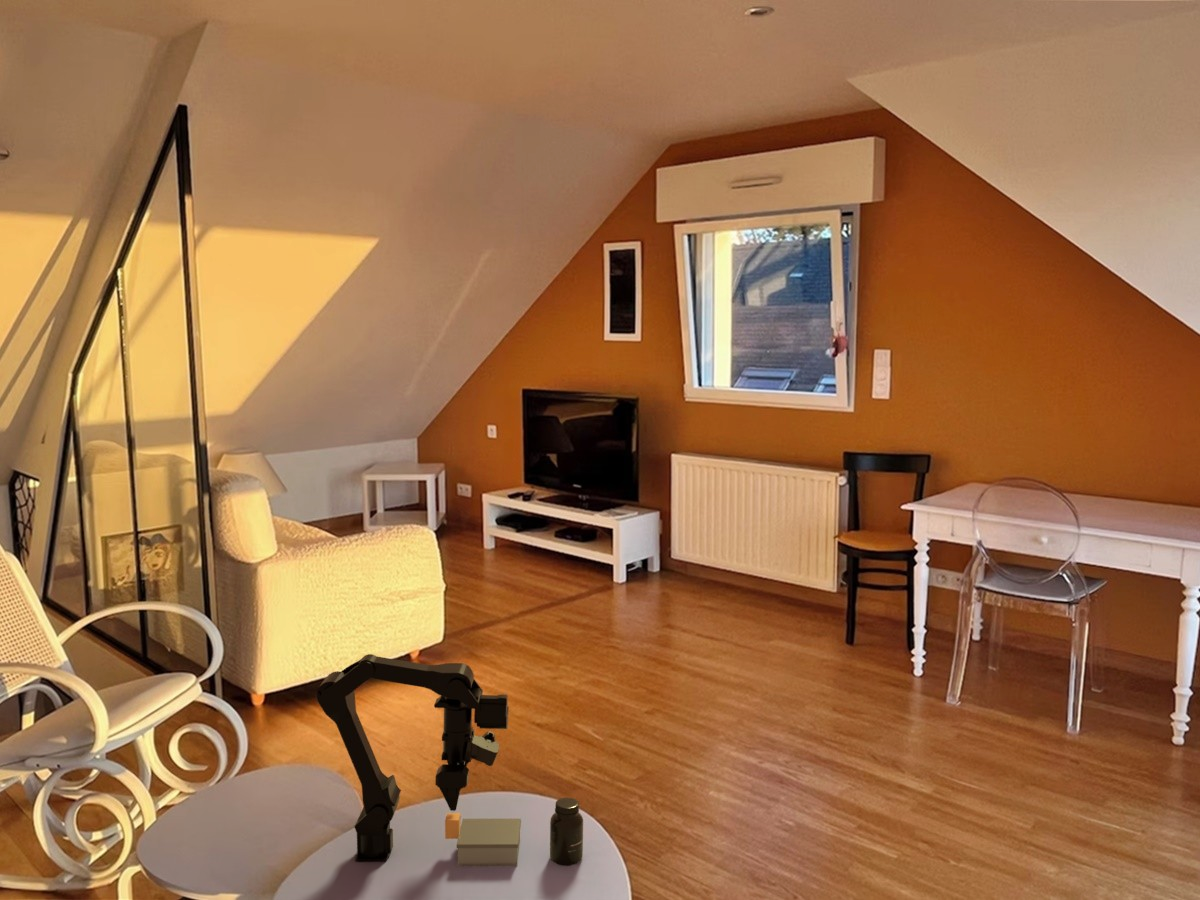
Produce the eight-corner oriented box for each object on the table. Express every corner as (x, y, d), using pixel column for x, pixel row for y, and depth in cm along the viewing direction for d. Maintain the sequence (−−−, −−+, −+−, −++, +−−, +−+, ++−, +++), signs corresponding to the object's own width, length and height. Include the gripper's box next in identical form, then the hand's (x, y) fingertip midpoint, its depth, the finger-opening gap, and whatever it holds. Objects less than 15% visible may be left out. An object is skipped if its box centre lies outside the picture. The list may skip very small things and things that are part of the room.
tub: (457, 866, 192) (457, 847, 191) (463, 840, 202) (463, 822, 201) (517, 866, 192) (517, 847, 192) (520, 840, 202) (520, 822, 201)
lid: (442, 852, 191) (442, 829, 191) (449, 826, 201) (449, 804, 201) (517, 852, 191) (517, 829, 191) (521, 826, 202) (521, 804, 201)
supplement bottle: (578, 869, 191) (579, 812, 190) (546, 865, 193) (546, 809, 191) (586, 851, 198) (586, 796, 197) (554, 847, 199) (554, 793, 198)
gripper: (492, 747, 184) (491, 823, 186) (500, 710, 203) (498, 779, 205) (435, 745, 184) (434, 821, 186) (448, 708, 203) (447, 778, 205)
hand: (456, 799), depth 195 cm, fingers open, 9 cm apart
